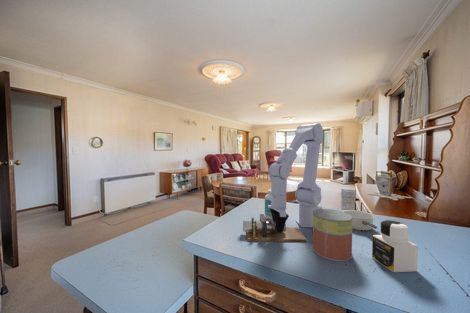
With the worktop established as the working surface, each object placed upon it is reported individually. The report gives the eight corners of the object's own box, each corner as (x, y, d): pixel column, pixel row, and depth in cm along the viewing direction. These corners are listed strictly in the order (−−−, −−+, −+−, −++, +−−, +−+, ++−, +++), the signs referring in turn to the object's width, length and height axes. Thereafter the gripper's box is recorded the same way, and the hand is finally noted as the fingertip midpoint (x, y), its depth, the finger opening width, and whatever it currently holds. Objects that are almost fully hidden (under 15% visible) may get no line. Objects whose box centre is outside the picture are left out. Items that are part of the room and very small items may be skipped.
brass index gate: (254, 228, 77) (254, 216, 77) (256, 237, 69) (257, 224, 69) (250, 228, 77) (250, 216, 77) (251, 237, 69) (252, 224, 69)
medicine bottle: (371, 258, 57) (372, 218, 57) (393, 257, 58) (394, 218, 57) (393, 273, 50) (394, 227, 50) (418, 271, 51) (419, 227, 50)
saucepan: (357, 240, 69) (357, 225, 69) (338, 221, 88) (338, 209, 88) (393, 243, 67) (393, 227, 66) (365, 223, 86) (366, 210, 86)
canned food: (344, 244, 65) (345, 210, 65) (358, 263, 54) (359, 222, 54) (309, 241, 68) (310, 208, 67) (316, 258, 57) (317, 218, 56)
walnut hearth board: (296, 229, 78) (296, 227, 78) (306, 241, 67) (306, 239, 67) (246, 228, 78) (246, 226, 78) (247, 241, 67) (247, 238, 67)
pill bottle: (280, 221, 88) (280, 192, 87) (264, 219, 89) (264, 191, 89) (279, 215, 95) (280, 189, 95) (264, 214, 96) (265, 188, 96)
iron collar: (263, 228, 77) (263, 214, 77) (266, 237, 69) (266, 221, 69) (259, 228, 77) (259, 214, 77) (262, 237, 69) (262, 221, 69)
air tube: (283, 230, 75) (283, 218, 75) (286, 235, 71) (286, 222, 71) (242, 229, 75) (242, 218, 75) (243, 234, 71) (243, 222, 71)
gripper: (265, 190, 80) (264, 222, 80) (271, 198, 65) (271, 237, 66) (282, 190, 80) (281, 222, 80) (292, 198, 65) (291, 238, 66)
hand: (278, 229), depth 73 cm, fingers closed on air tube, 4 cm apart
